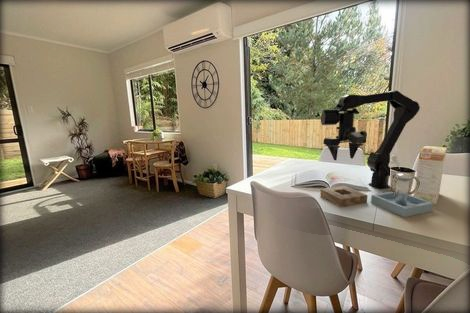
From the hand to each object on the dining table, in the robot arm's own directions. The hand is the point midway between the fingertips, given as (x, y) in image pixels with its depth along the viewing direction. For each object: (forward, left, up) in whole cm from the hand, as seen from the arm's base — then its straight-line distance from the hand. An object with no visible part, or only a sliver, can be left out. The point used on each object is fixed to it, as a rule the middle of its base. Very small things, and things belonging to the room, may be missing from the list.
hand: (343, 159), depth 102 cm
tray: (-4, +25, -13) cm, 28 cm away
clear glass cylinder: (-4, +25, -12) cm, 28 cm away
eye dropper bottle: (-36, -4, -13) cm, 39 cm away
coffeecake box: (-22, +22, -13) cm, 34 cm away
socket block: (+10, +12, -13) cm, 20 cm away
